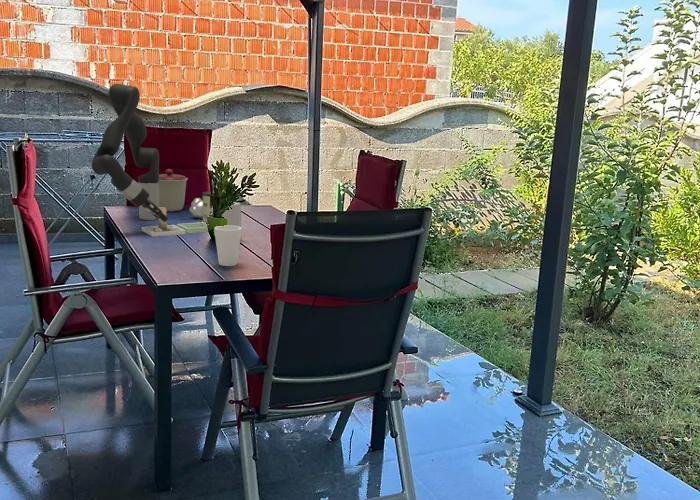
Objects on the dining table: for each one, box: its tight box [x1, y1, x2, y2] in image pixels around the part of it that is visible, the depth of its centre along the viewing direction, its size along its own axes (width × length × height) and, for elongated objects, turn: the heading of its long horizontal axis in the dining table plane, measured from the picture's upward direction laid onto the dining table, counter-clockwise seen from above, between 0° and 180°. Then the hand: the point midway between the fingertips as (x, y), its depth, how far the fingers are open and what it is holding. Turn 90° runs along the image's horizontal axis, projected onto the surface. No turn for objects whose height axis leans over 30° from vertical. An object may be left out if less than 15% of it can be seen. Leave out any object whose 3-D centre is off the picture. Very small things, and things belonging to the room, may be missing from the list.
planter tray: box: [176, 221, 209, 234], centre depth 286 cm, size 12×12×3 cm
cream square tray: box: [141, 224, 187, 237], centre depth 278 cm, size 14×14×2 cm
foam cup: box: [213, 225, 243, 267], centre depth 232 cm, size 10×9×13 cm
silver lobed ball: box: [189, 197, 203, 220], centre depth 318 cm, size 9×10×10 cm
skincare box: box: [222, 202, 243, 241], centre depth 271 cm, size 8×7×16 cm
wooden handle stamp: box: [153, 207, 170, 232], centre depth 278 cm, size 6×6×10 cm
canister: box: [159, 168, 189, 212], centre depth 336 cm, size 18×18×21 cm
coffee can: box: [202, 190, 213, 223], centre depth 309 cm, size 10×10×14 cm
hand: (162, 218), depth 278 cm, fingers open, 8 cm apart
